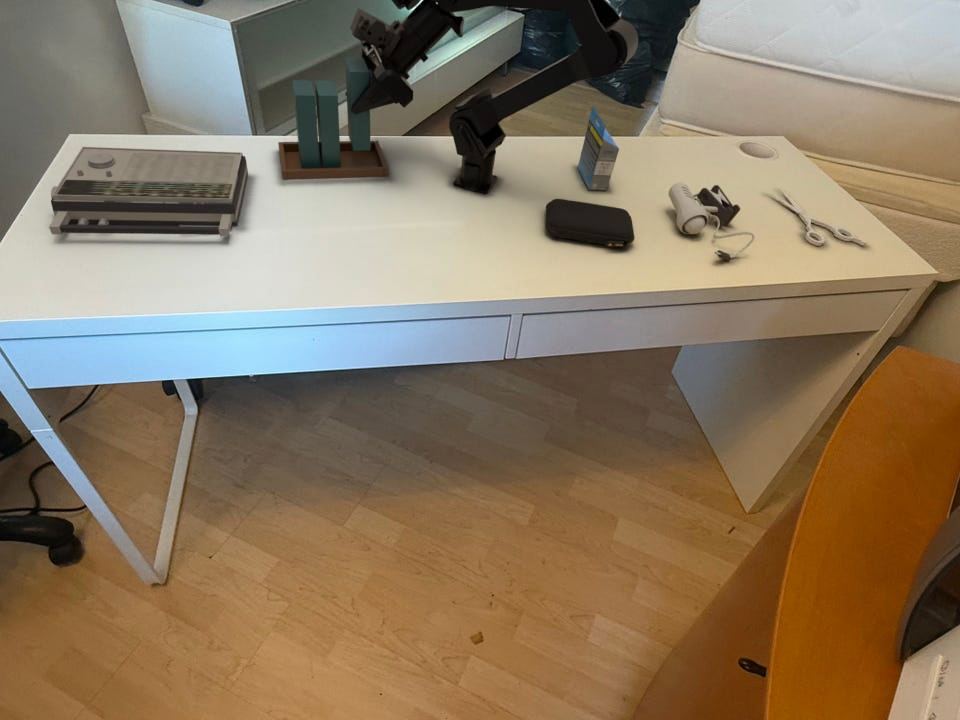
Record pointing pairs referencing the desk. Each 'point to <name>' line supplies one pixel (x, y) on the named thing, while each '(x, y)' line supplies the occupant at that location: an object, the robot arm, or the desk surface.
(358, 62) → the slim teal book
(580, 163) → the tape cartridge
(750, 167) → the desk surface
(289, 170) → the book tray
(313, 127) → the teal book
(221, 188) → the radio
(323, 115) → the teal book
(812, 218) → the scissors
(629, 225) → the carrying case
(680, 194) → the clip-on lamp
